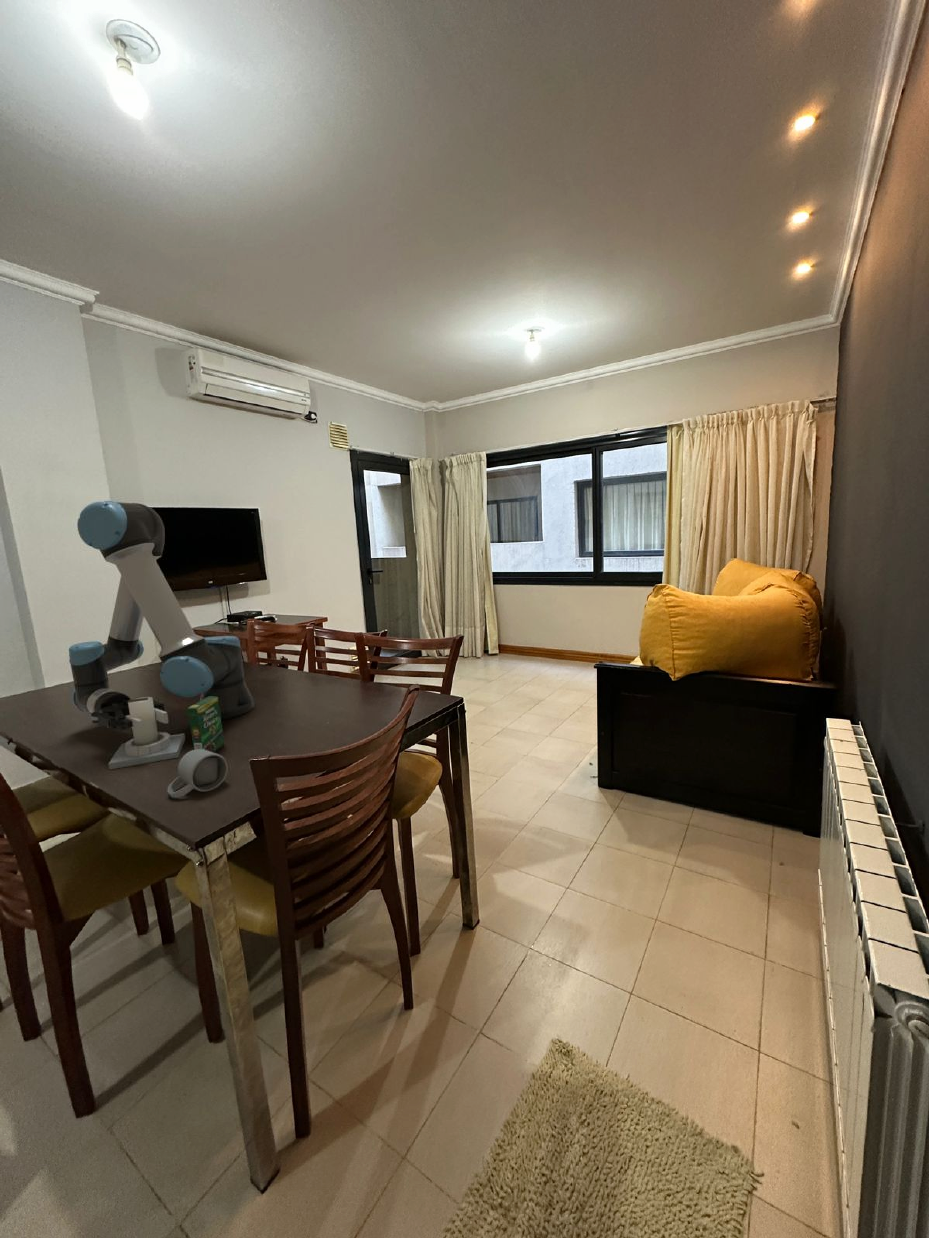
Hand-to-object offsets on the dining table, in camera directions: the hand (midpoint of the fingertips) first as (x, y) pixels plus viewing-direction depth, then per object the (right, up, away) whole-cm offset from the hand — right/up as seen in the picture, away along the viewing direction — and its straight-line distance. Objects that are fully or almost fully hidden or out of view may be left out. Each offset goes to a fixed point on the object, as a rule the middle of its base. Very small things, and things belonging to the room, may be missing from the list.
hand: (153, 721), depth 118 cm
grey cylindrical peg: (-4, -6, +4) cm, 8 cm away
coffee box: (+11, -8, +4) cm, 15 cm away
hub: (-4, -9, +5) cm, 11 cm away
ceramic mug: (+18, -11, -13) cm, 25 cm away
